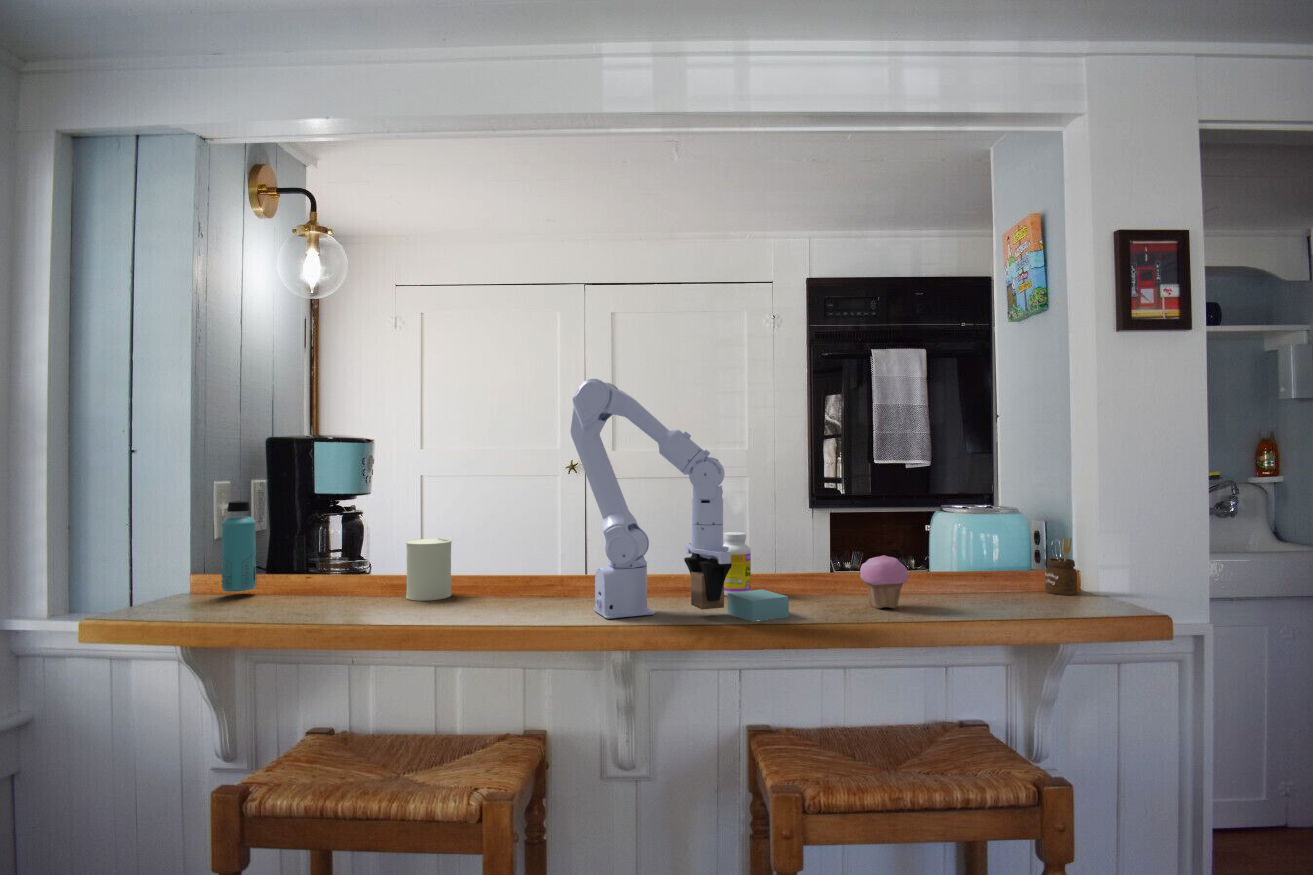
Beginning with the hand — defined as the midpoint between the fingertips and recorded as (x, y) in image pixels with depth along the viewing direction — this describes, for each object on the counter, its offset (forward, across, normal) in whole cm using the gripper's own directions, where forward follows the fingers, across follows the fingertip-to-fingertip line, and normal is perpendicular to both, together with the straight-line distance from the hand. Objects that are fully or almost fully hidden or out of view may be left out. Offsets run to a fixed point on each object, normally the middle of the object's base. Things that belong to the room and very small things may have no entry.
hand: (707, 598), depth 134 cm
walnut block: (+2, 0, 0) cm, 2 cm away
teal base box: (+4, -3, -9) cm, 10 cm away
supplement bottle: (+3, +16, -15) cm, 22 cm away
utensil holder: (+3, -10, -79) cm, 79 cm away
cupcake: (+3, -7, -35) cm, 35 cm away
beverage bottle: (+4, +55, +82) cm, 99 cm away
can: (+4, +39, +45) cm, 60 cm away
